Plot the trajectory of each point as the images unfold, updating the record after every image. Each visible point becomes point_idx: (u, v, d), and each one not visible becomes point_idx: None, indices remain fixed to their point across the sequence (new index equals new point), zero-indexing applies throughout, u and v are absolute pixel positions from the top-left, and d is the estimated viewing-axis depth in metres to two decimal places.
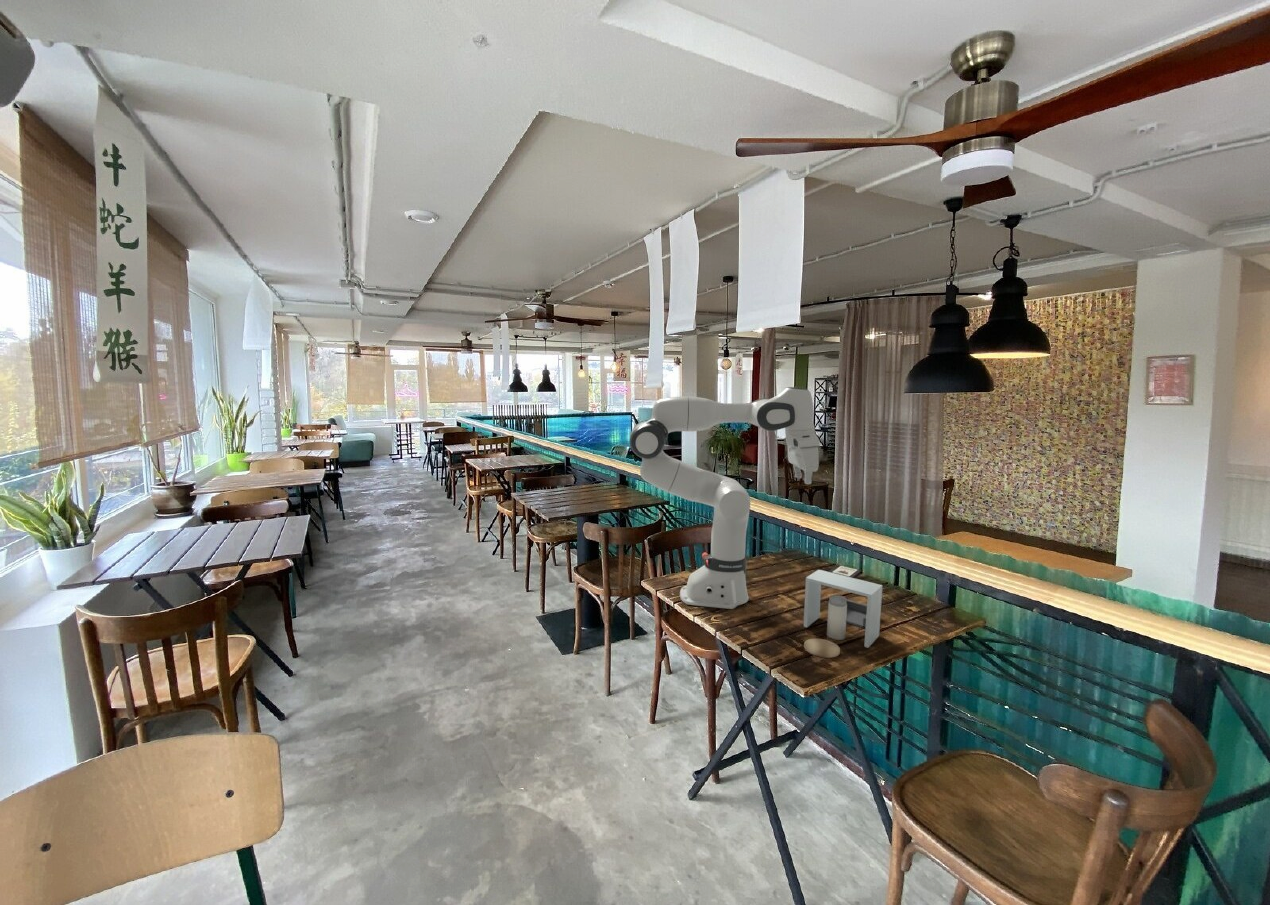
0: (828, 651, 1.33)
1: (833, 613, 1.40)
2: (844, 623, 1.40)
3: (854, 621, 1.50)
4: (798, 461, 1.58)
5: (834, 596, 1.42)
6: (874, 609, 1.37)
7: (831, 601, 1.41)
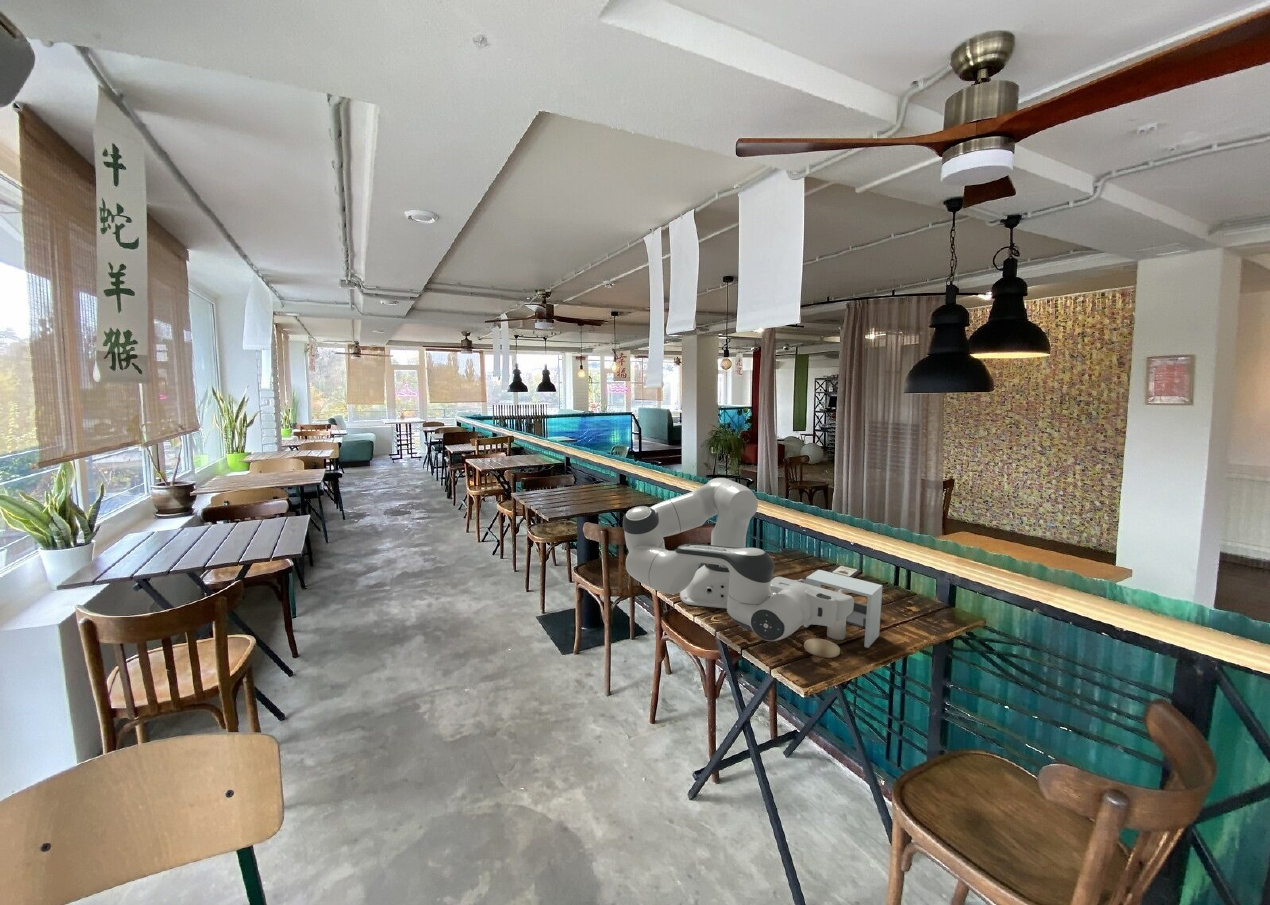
0: (828, 651, 1.33)
1: None
2: (844, 623, 1.40)
3: (854, 621, 1.50)
4: None
5: None
6: (874, 609, 1.37)
7: None
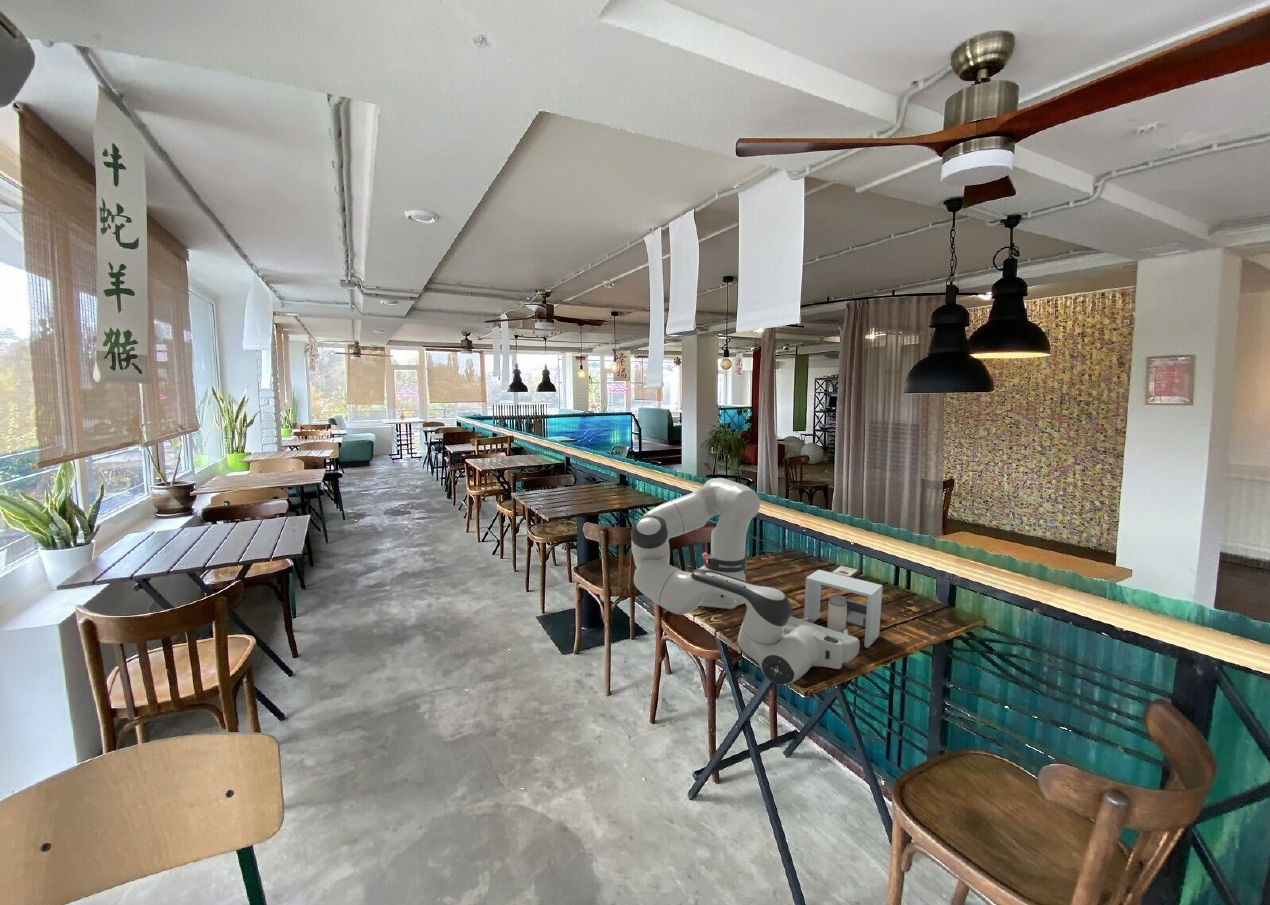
0: None
1: (833, 613, 1.40)
2: (844, 623, 1.40)
3: (854, 621, 1.50)
4: None
5: (834, 596, 1.42)
6: (874, 609, 1.37)
7: (831, 601, 1.41)
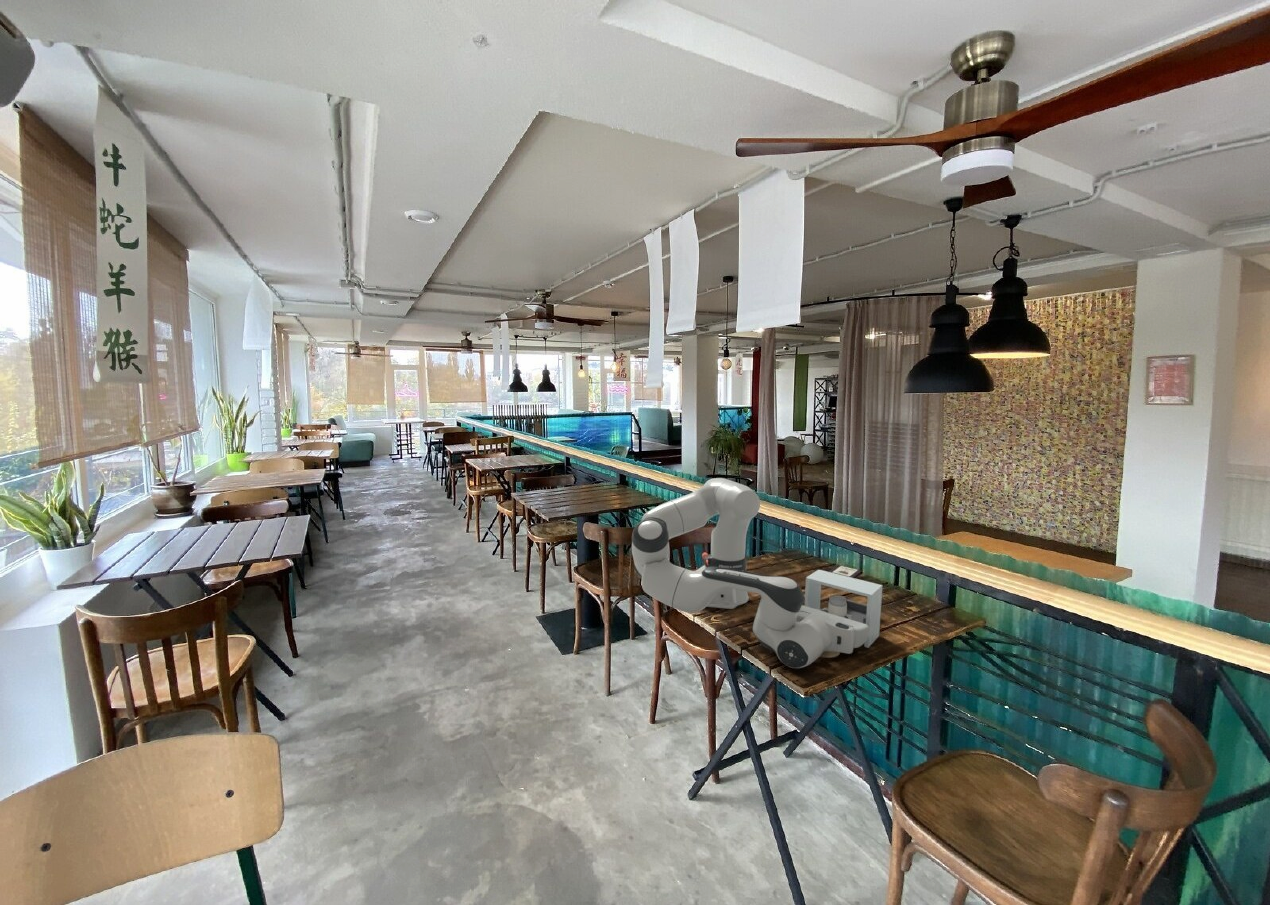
0: (828, 651, 1.33)
1: (833, 613, 1.40)
2: None
3: None
4: None
5: (834, 596, 1.42)
6: (874, 609, 1.37)
7: (831, 601, 1.41)
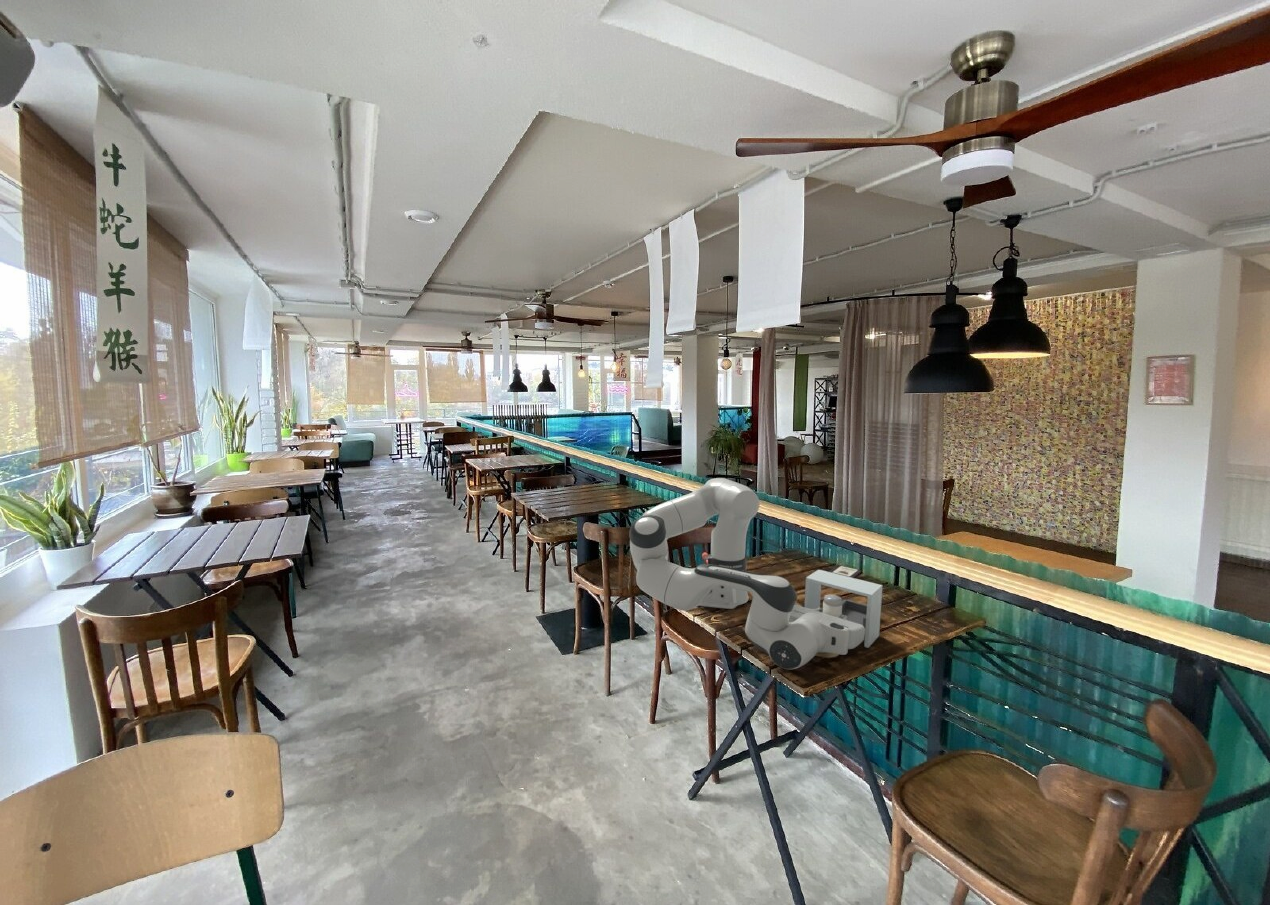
0: None
1: (827, 613, 1.36)
2: None
3: (854, 621, 1.50)
4: None
5: (829, 596, 1.39)
6: (874, 609, 1.37)
7: (826, 601, 1.37)
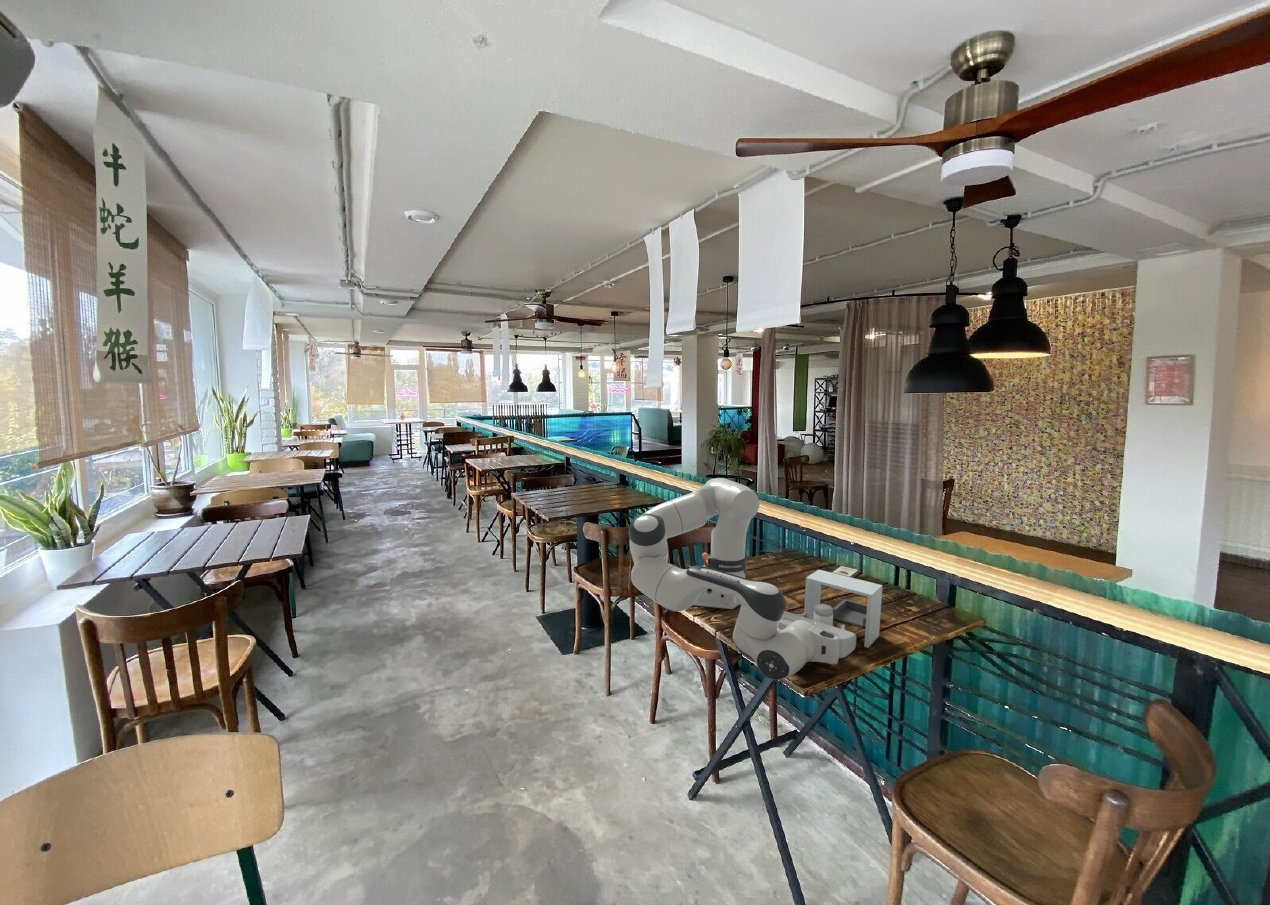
0: None
1: None
2: None
3: (854, 621, 1.50)
4: None
5: (820, 605, 1.35)
6: (874, 609, 1.37)
7: (816, 611, 1.33)
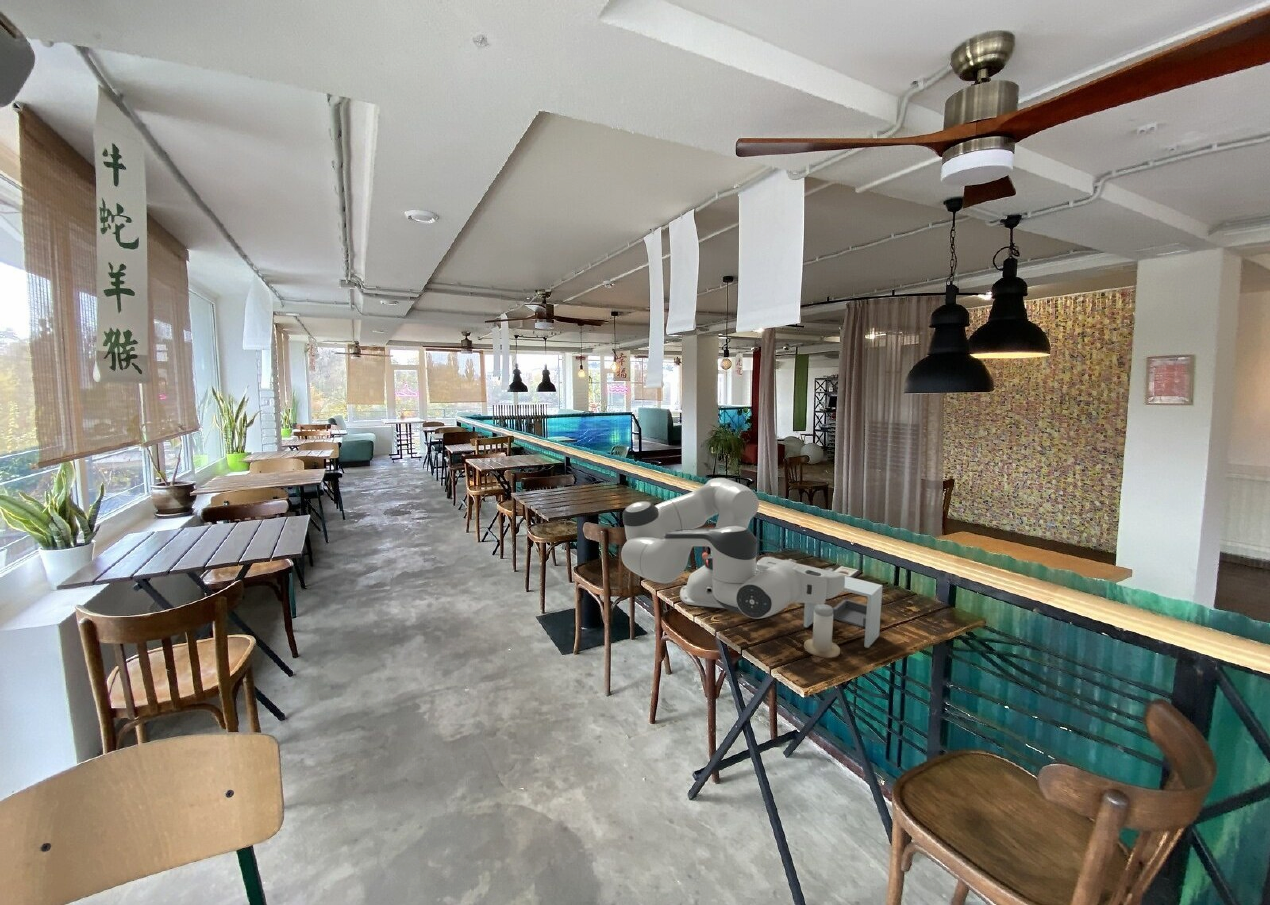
0: (828, 651, 1.33)
1: (818, 623, 1.33)
2: (830, 634, 1.33)
3: (854, 621, 1.50)
4: None
5: (820, 605, 1.35)
6: (874, 609, 1.37)
7: (816, 611, 1.33)
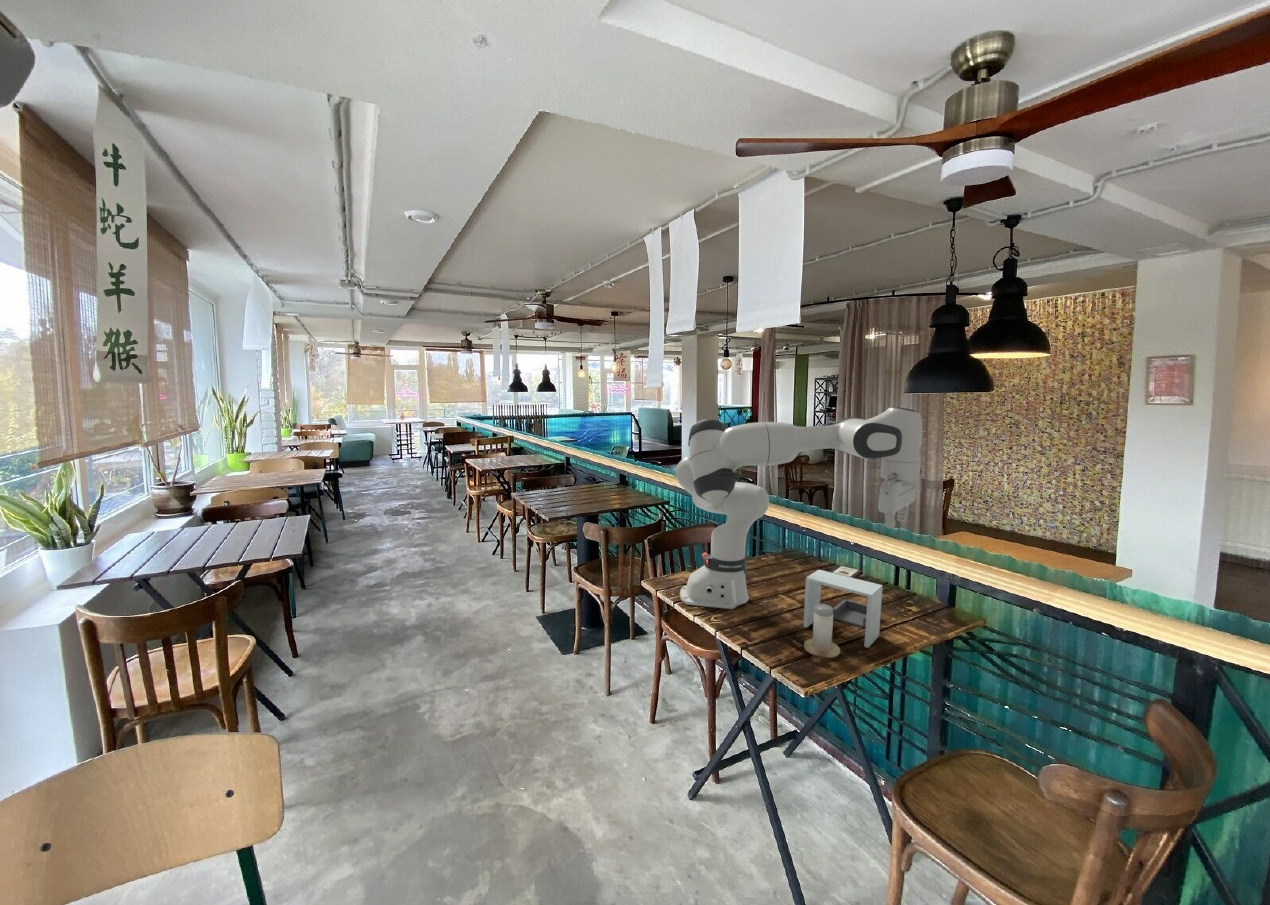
0: (828, 651, 1.33)
1: (818, 623, 1.33)
2: (830, 634, 1.33)
3: (854, 621, 1.50)
4: (908, 496, 1.31)
5: (820, 605, 1.35)
6: (874, 609, 1.37)
7: (816, 611, 1.33)
